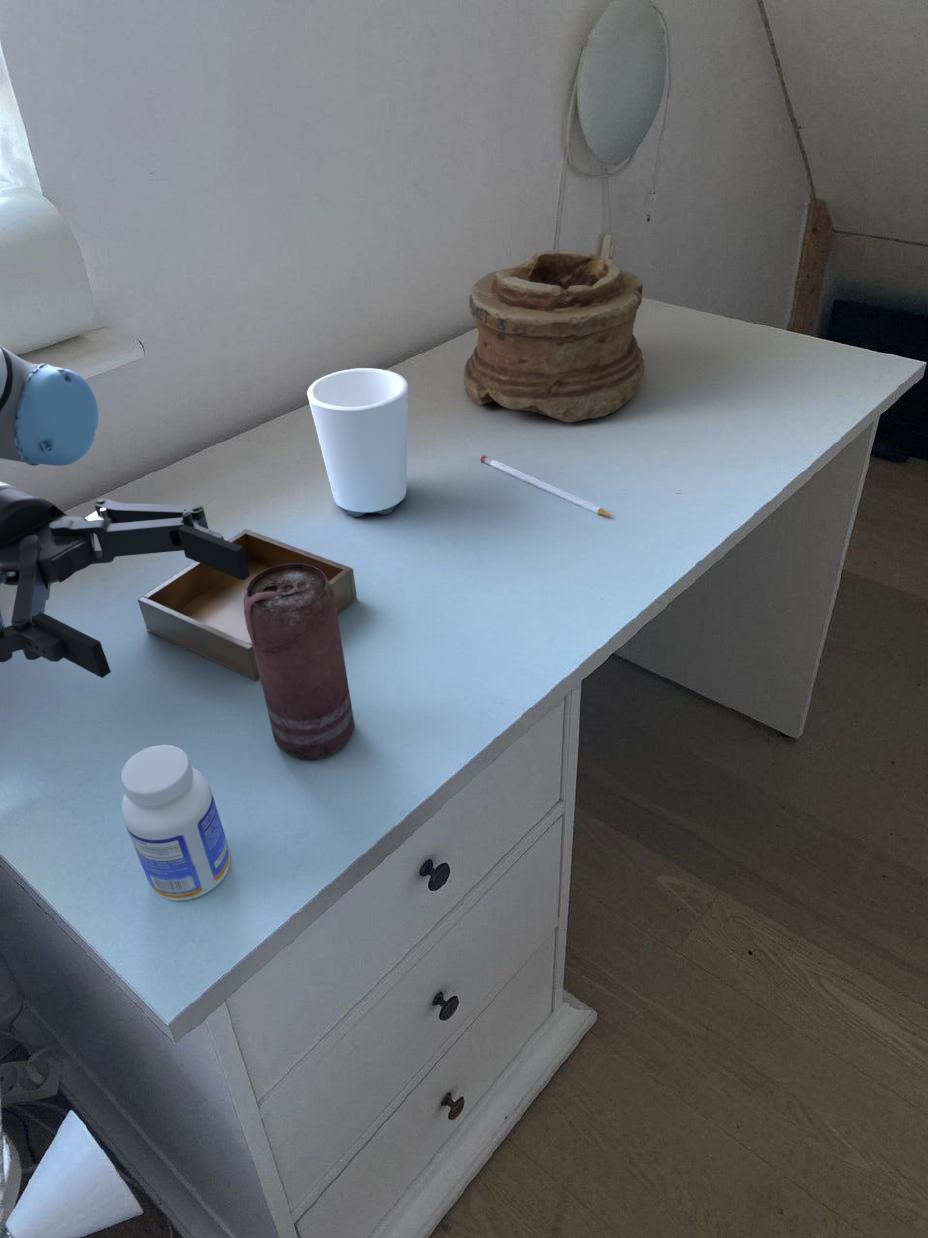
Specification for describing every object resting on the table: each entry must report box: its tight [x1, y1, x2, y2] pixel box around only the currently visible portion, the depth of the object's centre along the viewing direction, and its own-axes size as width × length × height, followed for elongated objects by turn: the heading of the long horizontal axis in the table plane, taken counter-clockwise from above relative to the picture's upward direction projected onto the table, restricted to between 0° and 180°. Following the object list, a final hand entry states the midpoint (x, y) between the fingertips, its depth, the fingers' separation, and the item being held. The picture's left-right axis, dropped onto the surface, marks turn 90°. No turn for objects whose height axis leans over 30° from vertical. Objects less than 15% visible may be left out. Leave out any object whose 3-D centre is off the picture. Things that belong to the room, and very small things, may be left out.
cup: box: [306, 367, 409, 518], centre depth 96 cm, size 10×10×13 cm
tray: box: [137, 528, 358, 682], centre depth 83 cm, size 13×13×3 cm
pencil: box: [479, 455, 614, 519], centre depth 100 cm, size 1×19×1 cm, turn 44°
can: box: [244, 563, 356, 761], centre depth 68 cm, size 6×6×14 cm
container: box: [463, 249, 646, 423], centre depth 116 cm, size 22×24×15 cm
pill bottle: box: [120, 744, 231, 902], centre depth 59 cm, size 5×5×10 cm
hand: (177, 609), depth 69 cm, fingers open, 13 cm apart
